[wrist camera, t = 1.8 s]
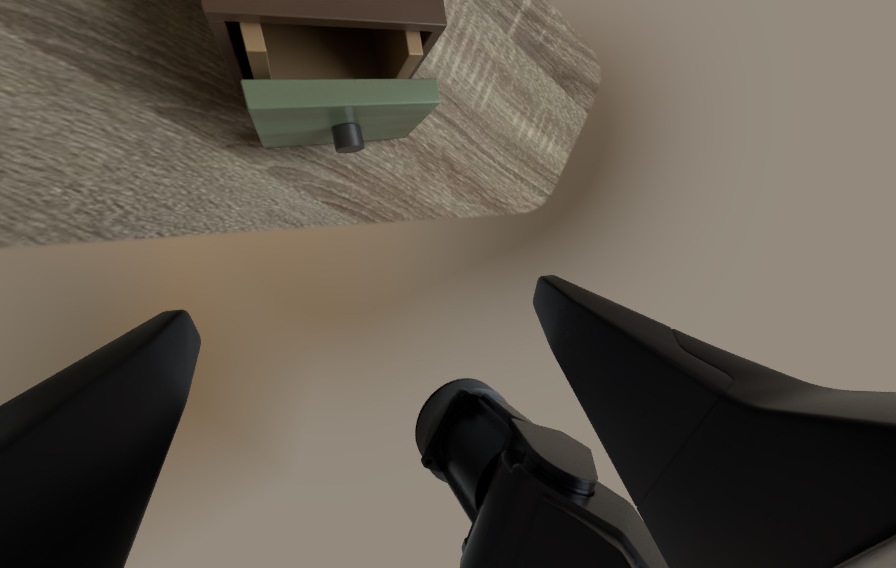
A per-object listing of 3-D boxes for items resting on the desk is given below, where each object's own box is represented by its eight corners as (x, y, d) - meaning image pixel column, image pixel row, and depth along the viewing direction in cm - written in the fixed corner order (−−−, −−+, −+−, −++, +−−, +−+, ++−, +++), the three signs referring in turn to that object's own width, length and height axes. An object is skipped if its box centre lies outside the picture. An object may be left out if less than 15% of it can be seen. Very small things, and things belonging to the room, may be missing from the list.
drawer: (408, 156, 24) (445, 127, 18) (268, 169, 21) (255, 139, 15) (378, -14, 22) (407, -111, 16) (217, -29, 19) (177, -160, 13)
